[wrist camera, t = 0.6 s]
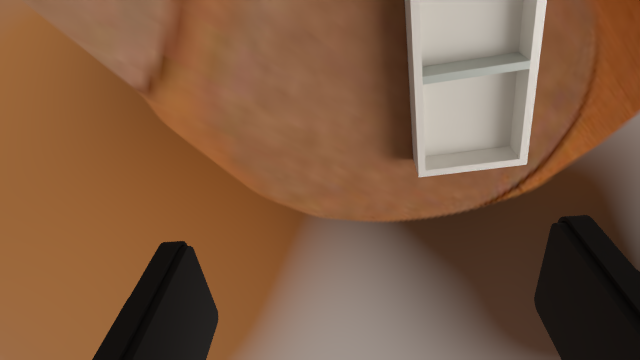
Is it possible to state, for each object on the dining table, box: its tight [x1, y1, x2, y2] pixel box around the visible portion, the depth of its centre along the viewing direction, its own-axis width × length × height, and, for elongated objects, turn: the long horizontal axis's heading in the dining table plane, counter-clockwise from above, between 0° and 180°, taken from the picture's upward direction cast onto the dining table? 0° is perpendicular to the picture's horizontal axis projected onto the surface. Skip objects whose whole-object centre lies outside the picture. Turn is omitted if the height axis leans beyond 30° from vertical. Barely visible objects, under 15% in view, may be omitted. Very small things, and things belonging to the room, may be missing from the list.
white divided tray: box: [405, 0, 547, 177], centre depth 40 cm, size 22×12×4 cm, turn 10°
